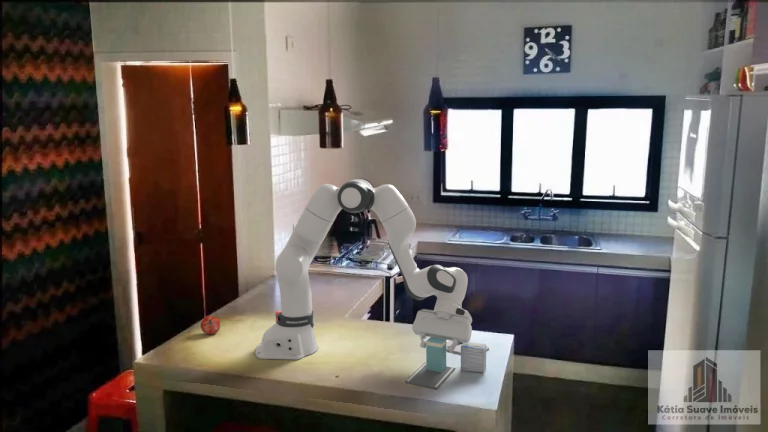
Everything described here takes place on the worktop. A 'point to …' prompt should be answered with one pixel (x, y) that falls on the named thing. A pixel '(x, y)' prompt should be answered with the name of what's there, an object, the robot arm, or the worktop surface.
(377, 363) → the worktop surface
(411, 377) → the mat
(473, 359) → the medicine box
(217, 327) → the orange pumpkin
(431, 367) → the tea box
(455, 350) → the handheld gaming console
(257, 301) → the worktop surface
